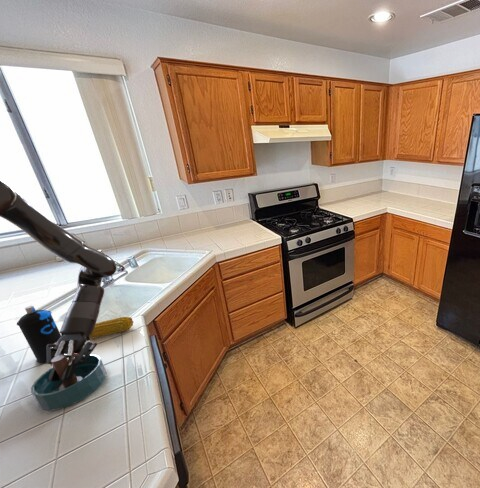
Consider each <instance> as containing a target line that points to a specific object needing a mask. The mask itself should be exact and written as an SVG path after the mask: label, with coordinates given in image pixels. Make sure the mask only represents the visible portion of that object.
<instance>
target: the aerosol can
mask: <svg viewBox="0 0 480 488" xmlns="http://www.w3.org/2000/svg"><path fill="white" fill-rule="evenodd" d="M24 310H25V311H26V313H25V314H24V315H22V316H21V317H20V318H19V319H18V321H17V322H16V325H17V326H18V327H19V329H20V331H21V332H22V335H23V337H24V338H25V340H26V342H27V344H28V346H29V348H30V350H31V352H32V353H33V355H34V358H35V359H36V363H38V364H47V345H48V344H54V343H56V342H58V340H59V339H60V337H61V333H60V330H59V328H58V325H57V323H56V321H55V319H54V318H53V315H52V311H50V310H46V309H37V310H36V308H35V306H34V305H29V306H26V307H25V308H24ZM62 354H63V353H62Z"/></svg>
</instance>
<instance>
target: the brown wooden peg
mask: <svg viewBox="0 0 480 488" xmlns="http://www.w3.org/2000/svg"><path fill="white" fill-rule="evenodd" d="M51 363H52V365H53V366H54V368H55V370H56V372H57V374H58V376H59V378H60V380H61V382H62V385H61V386H60V387H59V390H62V389H65V388H67V387H69V386H71V385H73V384H75V383H77V382H78V381H80V380H82V379H83V378H82V377H81V376H77V377H76V376H75V374H74V375H73V377H72V378H71V380H64V381H62V376H63V373H64V371H65V368H66V366H68V365H67V363H68V358H67V357H66V355H65V354H62V355H58V356H56V357H54V358H53V359H52V360H51ZM52 365H51V366H52ZM53 366H52V367H53Z"/></svg>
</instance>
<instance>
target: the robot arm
mask: <svg viewBox="0 0 480 488" xmlns="http://www.w3.org/2000/svg"><path fill="white" fill-rule="evenodd" d="M0 218H2V219H4V220H6V221H8V222H9V223H11V224H13V225H14V226H16V227H17V228H18V229H20V230H22V231H23V232H24V233H26V234H27V235H28V236H29V237H30V238H31V239H33V240H34V241H35V242H36V243H38V244H39V245H41V246H42V247H43V248H44V249H46V250H47V251H49V252H50V253H51V254H53V255H54V256H56V257H58V258H59V259H61V260H62V261H64V262H66V263H69V264H77V265H80V266H81V267H80V269H79V271H78V275H77V283H76V291H75V294H74V296H73V299H72V302H71V303H70V305H69V307H68V309H67V312H66V314H65V317H64V319H63V322H62V324H61V327H60V330H59V332H60V334H61V337H60V339H59V340H58V342H56V343H54V344H48V345H47V363H46V364H47V365H51V366H52V367H51V368H52V370H51V373H50V376H49V381H58V380H59V376H58V374H57V372H56V370H55V368H54V366H53V365H52V363H51V360H52V359H53V358H54V357H56V356H58V355H62V353H63V354H65V355H66V357H67V359H68V363H67V365H68V366H66V368H65V371H64V373H63V376H62V381H64V380H71V378H72V377H73V375H74V372H75V369H76V366H77V365H78V364H80V363H84V362H85V361H86V360H87V358H88V357H89V355H90V354H93V351H94V350H95V348H96V347H97V346H98V343H97V342H94V341H92V340H91V338H89V336H90V335H91V334H92V333H93V330H94V327H95V324H96V323H97V321H98V318H99V314H100V310H101V305H102V303H103V299H104V296H105V291H106V290H105V288H104V287H103V286H102V281H103V279H106V278H109V277H111V276H113V275H114V274H115V273H116V272H117V270H118V266H117V263H116V262H115V260H114V259H113V258H112V257H111V256H109V255H108V254H105V253H104V252H101V251H99V250H97V249H95V248H93V247H91V246H88V245H87V244H86V243H84V242H82V240H80V239H78V238H77V237H75V236H74V234H72V233H70V232H69V231H67V230H66V229H64V228H62V227H61V226H59V225H58V224H57V223H55V222H54V221H53V220H51V219H50V218H48V217H46V216H45V215H43V214H42V213H41V212H39V210H37V209H36V208H35V207H34V206H32V205H31V204H30V203H29V202H28V201H27V200H26V199H25V198H24V197H22V196H21V194H19V193H18V191H17V190H16V188H14V186H12V184H10V183H9V182H7V181H6V180H4V179H2V178H0ZM82 357H83V358H82ZM74 358H75V359H74Z"/></svg>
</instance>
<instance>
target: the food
mask: <svg viewBox="0 0 480 488" xmlns="http://www.w3.org/2000/svg"><path fill="white" fill-rule="evenodd" d="M133 326H134V320H133V318H132V317H130V316H120V317H115V318H113V319H112V318H111V319H109V320H102V321H100V322H99V321H98V322H96V324H95V327H94V330H93V333H92V334H91V335H90V336H89V338H90V339H95V338H102V337H105V336H109V335H113V334H114V335H115V334H117V333H122V332H125V331H129V330H130V329H132V327H133Z"/></svg>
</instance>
